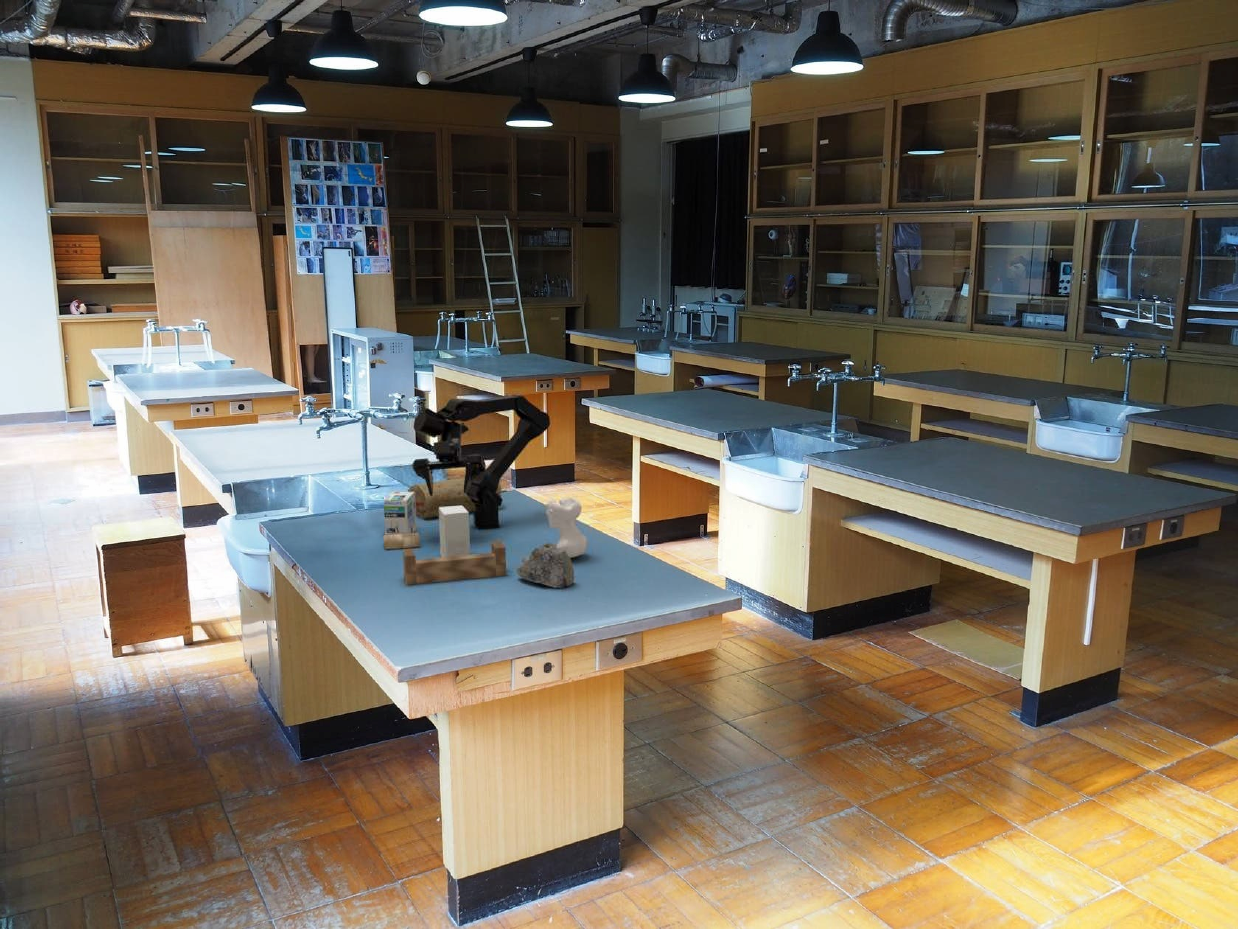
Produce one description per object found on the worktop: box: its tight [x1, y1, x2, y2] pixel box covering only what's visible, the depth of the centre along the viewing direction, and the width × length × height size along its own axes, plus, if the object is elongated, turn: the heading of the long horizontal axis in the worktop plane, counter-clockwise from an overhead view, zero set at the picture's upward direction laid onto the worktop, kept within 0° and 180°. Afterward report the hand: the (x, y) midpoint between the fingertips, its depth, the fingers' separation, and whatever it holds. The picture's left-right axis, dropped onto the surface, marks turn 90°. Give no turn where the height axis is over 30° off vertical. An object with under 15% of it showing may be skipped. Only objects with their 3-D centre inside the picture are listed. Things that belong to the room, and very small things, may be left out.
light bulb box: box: [382, 491, 418, 535], centre depth 286 cm, size 11×7×11 cm, turn 179°
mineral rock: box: [516, 542, 575, 589], centre depth 244 cm, size 13×11×10 cm
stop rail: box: [402, 540, 507, 586], centre depth 249 cm, size 24×6×7 cm, turn 107°
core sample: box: [407, 477, 502, 520], centre depth 310 cm, size 14×26×10 cm, turn 123°
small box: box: [438, 506, 471, 558], centre depth 262 cm, size 8×6×13 cm
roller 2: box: [383, 535, 421, 551], centre depth 274 cm, size 9×3×3 cm
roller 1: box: [383, 532, 419, 548], centre depth 276 cm, size 9×3×3 cm, turn 107°
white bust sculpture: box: [545, 497, 588, 559], centre depth 263 cm, size 10×11×15 cm
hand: (447, 494), depth 274 cm, fingers open, 9 cm apart
